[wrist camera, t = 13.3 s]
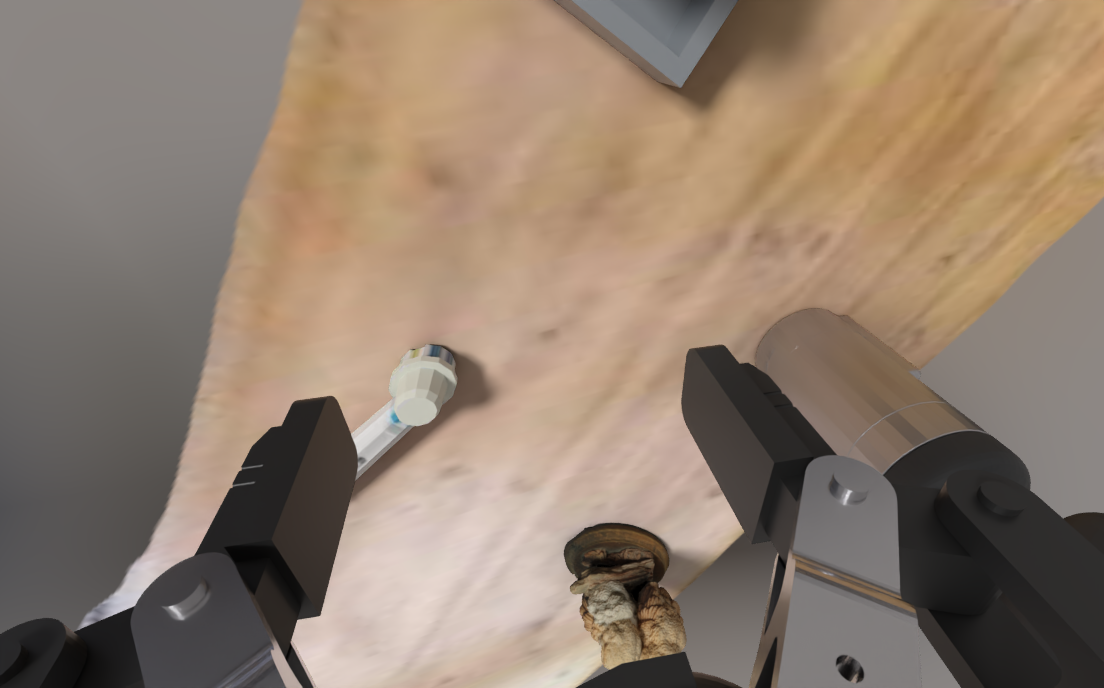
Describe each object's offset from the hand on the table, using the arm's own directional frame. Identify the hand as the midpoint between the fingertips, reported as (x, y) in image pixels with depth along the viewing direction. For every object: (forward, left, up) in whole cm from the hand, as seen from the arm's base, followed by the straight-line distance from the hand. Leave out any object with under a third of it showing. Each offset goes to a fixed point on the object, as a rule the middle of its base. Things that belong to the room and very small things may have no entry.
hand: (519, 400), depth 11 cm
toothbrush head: (+16, +24, -29) cm, 41 cm away
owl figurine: (-8, +53, -29) cm, 61 cm away
